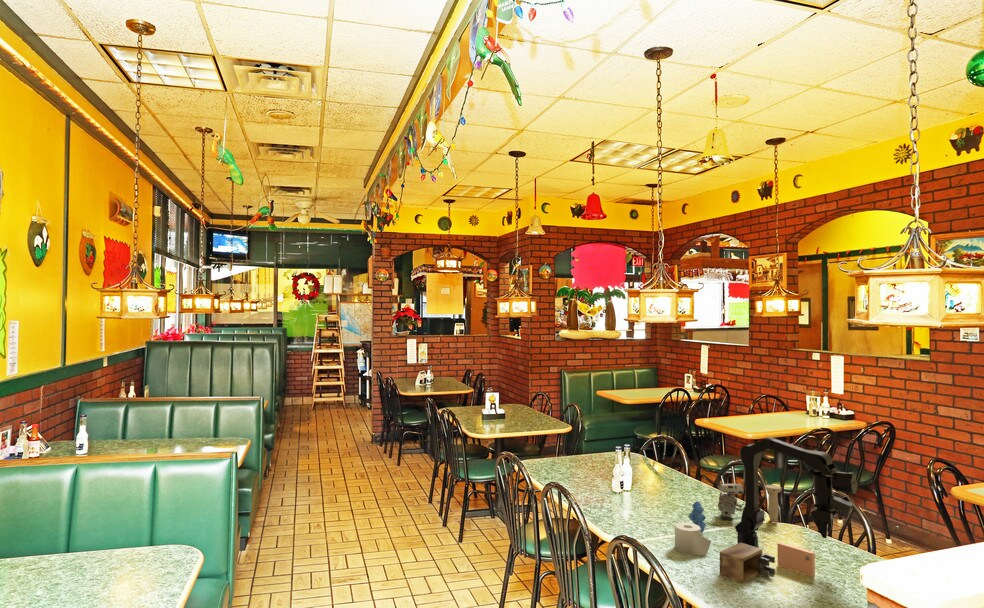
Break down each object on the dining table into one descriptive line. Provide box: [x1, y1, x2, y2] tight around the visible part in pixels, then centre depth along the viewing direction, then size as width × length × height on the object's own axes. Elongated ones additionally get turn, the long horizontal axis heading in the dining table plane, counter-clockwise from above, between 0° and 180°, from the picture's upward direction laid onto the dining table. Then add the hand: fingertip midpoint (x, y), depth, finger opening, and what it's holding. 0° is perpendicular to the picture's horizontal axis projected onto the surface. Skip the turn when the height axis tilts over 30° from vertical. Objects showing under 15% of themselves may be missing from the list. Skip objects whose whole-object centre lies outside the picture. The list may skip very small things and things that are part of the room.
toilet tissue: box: [674, 522, 712, 556], centre depth 229 cm, size 9×13×9 cm
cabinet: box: [719, 542, 763, 584], centre depth 207 cm, size 8×14×8 cm, turn 129°
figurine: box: [717, 482, 745, 521], centre depth 267 cm, size 9×12×15 cm
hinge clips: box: [758, 553, 776, 579], centre depth 207 cm, size 4×5×6 cm
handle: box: [764, 484, 782, 523], centre depth 262 cm, size 5×6×15 cm
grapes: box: [687, 500, 707, 534], centre depth 249 cm, size 12×7×12 cm, turn 178°
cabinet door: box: [776, 541, 816, 578], centre depth 210 cm, size 12×2×8 cm, turn 39°
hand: (826, 534), depth 211 cm, fingers open, 9 cm apart
